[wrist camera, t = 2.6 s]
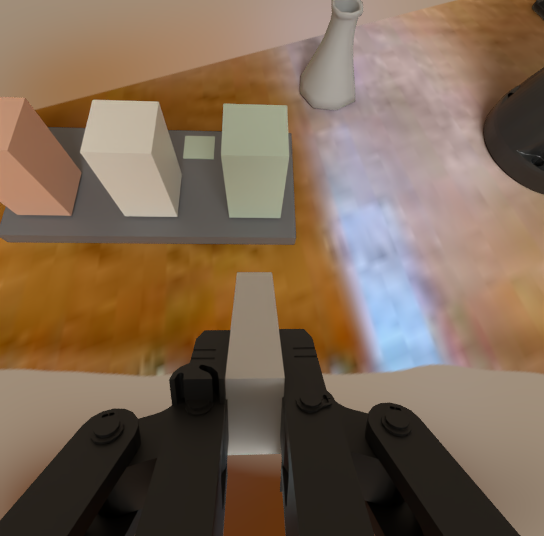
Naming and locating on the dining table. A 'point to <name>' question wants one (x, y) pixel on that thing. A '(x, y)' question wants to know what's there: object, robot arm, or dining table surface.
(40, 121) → the pink tall block
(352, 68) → the flask
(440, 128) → the dining table surface
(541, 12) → the phone
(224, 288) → the dining table surface
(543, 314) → the dining table surface
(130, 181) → the cream tall block
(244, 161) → the pale green tall block
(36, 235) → the grey board
